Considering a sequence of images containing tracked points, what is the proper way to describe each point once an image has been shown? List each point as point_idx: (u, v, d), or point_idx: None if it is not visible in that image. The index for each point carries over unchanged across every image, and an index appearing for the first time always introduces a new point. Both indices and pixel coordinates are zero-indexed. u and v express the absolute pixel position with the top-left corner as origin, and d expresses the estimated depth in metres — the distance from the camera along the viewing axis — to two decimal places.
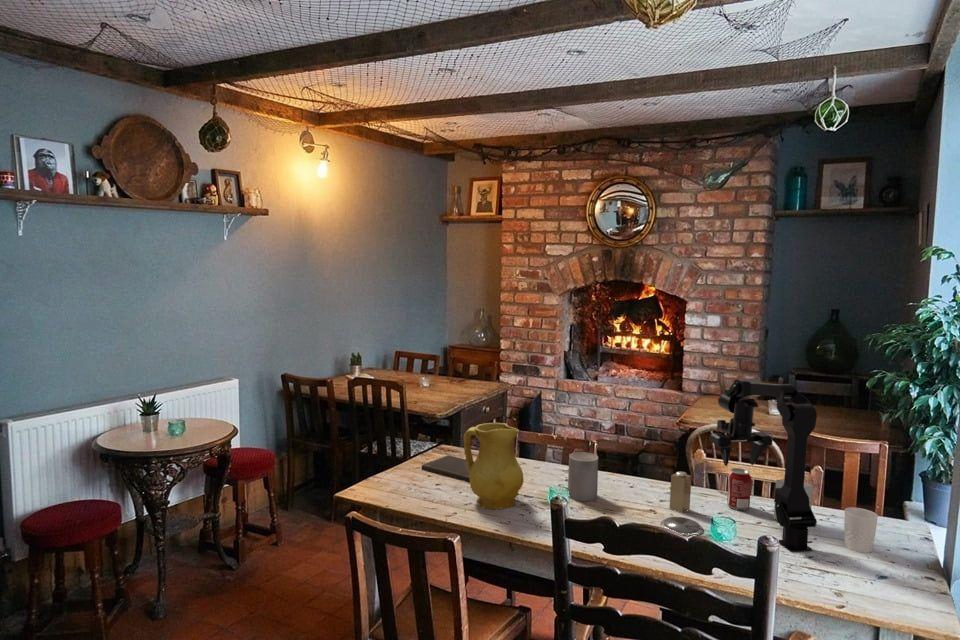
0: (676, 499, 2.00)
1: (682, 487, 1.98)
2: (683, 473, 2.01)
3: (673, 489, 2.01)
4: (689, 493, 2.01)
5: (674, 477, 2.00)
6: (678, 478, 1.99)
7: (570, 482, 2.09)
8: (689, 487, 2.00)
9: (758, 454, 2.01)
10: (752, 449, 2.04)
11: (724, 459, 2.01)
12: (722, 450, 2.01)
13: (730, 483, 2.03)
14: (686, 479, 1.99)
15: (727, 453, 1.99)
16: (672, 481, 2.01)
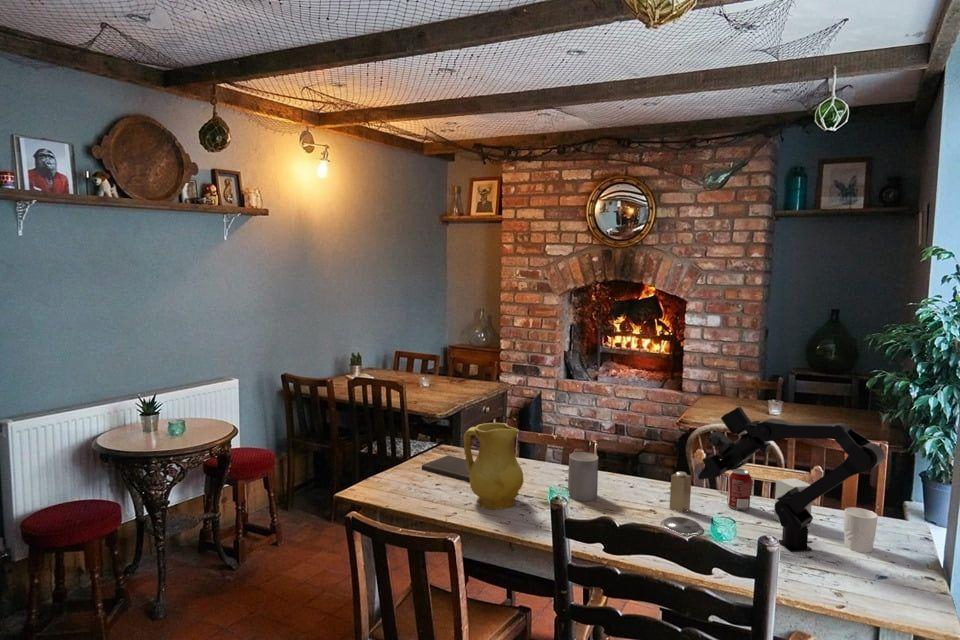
0: (676, 499, 2.00)
1: (682, 487, 1.98)
2: (683, 473, 2.00)
3: (673, 489, 2.01)
4: (689, 493, 2.01)
5: (674, 477, 2.00)
6: (678, 478, 1.99)
7: (570, 482, 2.09)
8: (689, 487, 2.00)
9: (727, 470, 1.95)
10: None
11: (703, 476, 1.90)
12: (707, 469, 1.88)
13: (730, 483, 2.03)
14: (686, 479, 1.99)
15: (712, 477, 1.87)
16: (672, 481, 2.01)
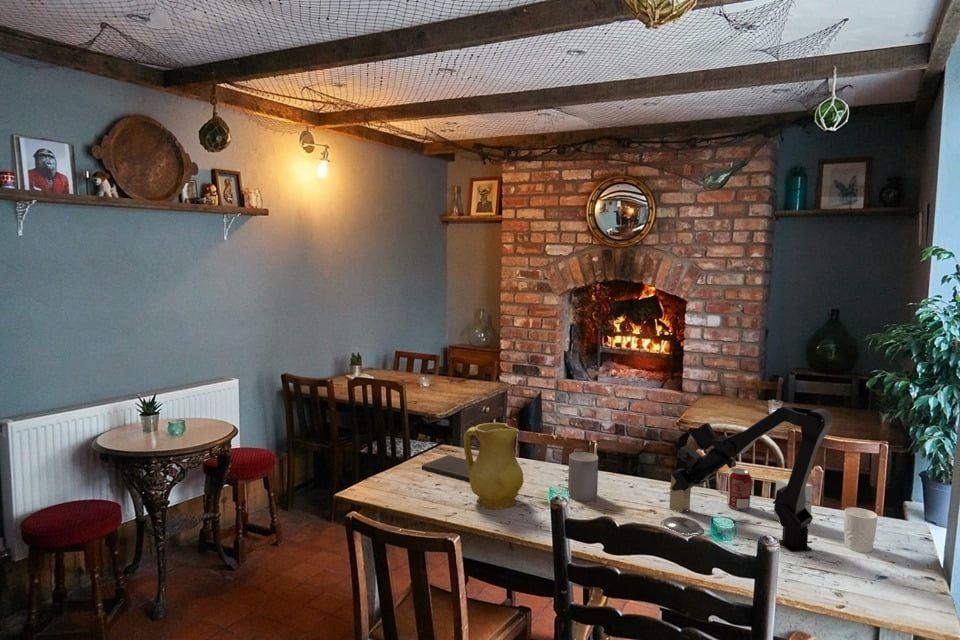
0: (676, 499, 2.00)
1: None
2: None
3: None
4: (689, 493, 2.01)
5: None
6: None
7: (570, 482, 2.09)
8: None
9: (694, 484, 2.01)
10: None
11: (676, 487, 1.99)
12: None
13: (730, 483, 2.03)
14: None
15: None
16: (672, 481, 2.01)
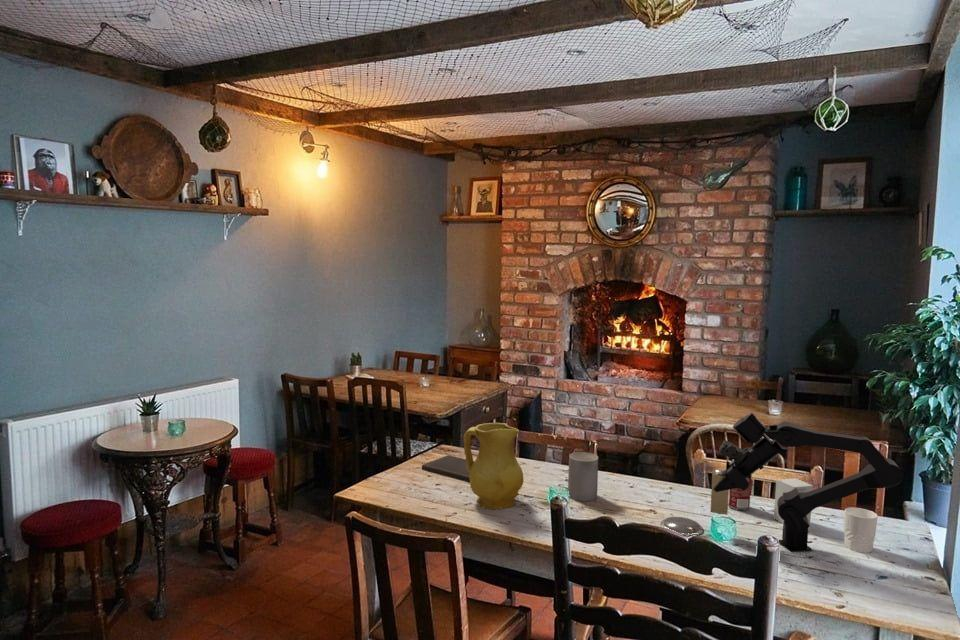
0: (719, 500, 1.81)
1: None
2: (723, 470, 1.82)
3: None
4: None
5: (716, 476, 1.81)
6: (721, 477, 1.80)
7: (570, 482, 2.09)
8: None
9: None
10: None
11: (721, 487, 1.80)
12: (726, 480, 1.78)
13: None
14: None
15: None
16: (713, 481, 1.81)
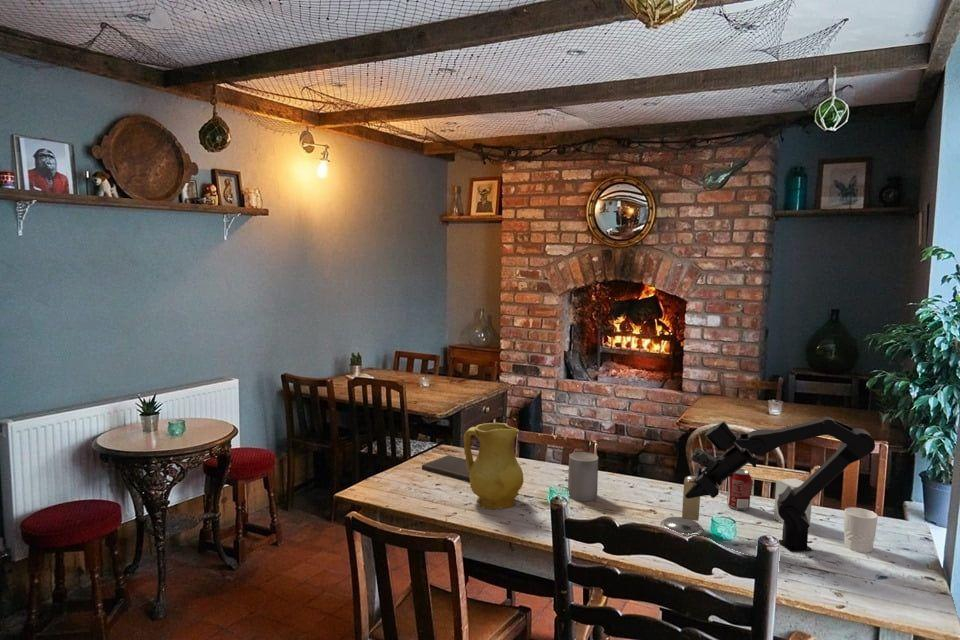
0: (690, 507, 1.84)
1: None
2: (695, 477, 1.85)
3: None
4: None
5: (688, 483, 1.84)
6: (693, 484, 1.83)
7: (570, 482, 2.09)
8: None
9: None
10: None
11: (692, 494, 1.82)
12: (698, 487, 1.81)
13: (730, 483, 2.03)
14: None
15: None
16: (685, 488, 1.84)
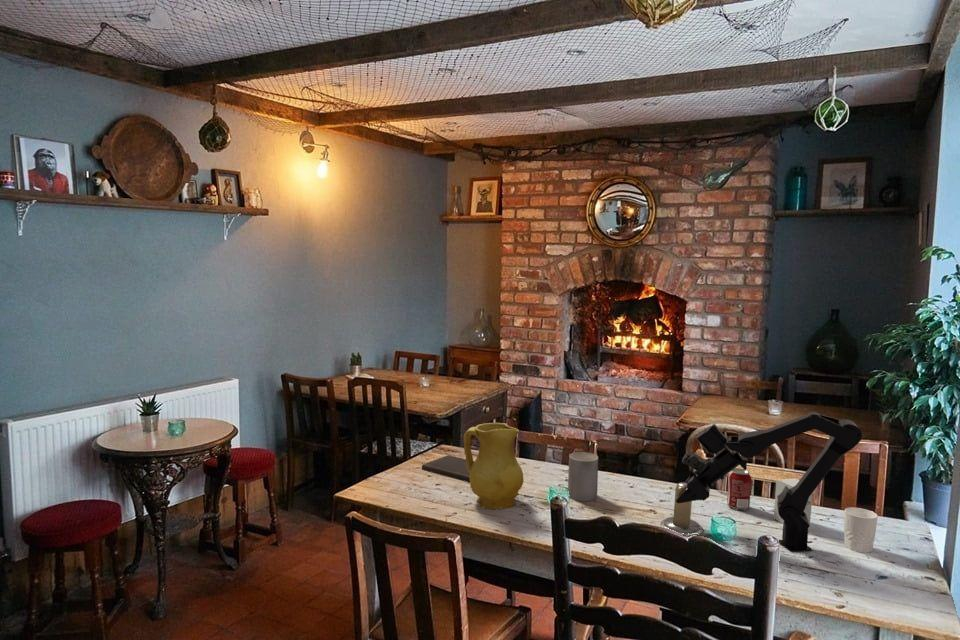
0: (681, 513, 1.85)
1: None
2: (686, 484, 1.86)
3: None
4: (691, 505, 1.88)
5: (679, 490, 1.85)
6: None
7: (570, 482, 2.09)
8: None
9: None
10: (690, 480, 1.90)
11: (683, 499, 1.82)
12: (688, 492, 1.80)
13: (730, 483, 2.03)
14: None
15: None
16: (677, 494, 1.85)
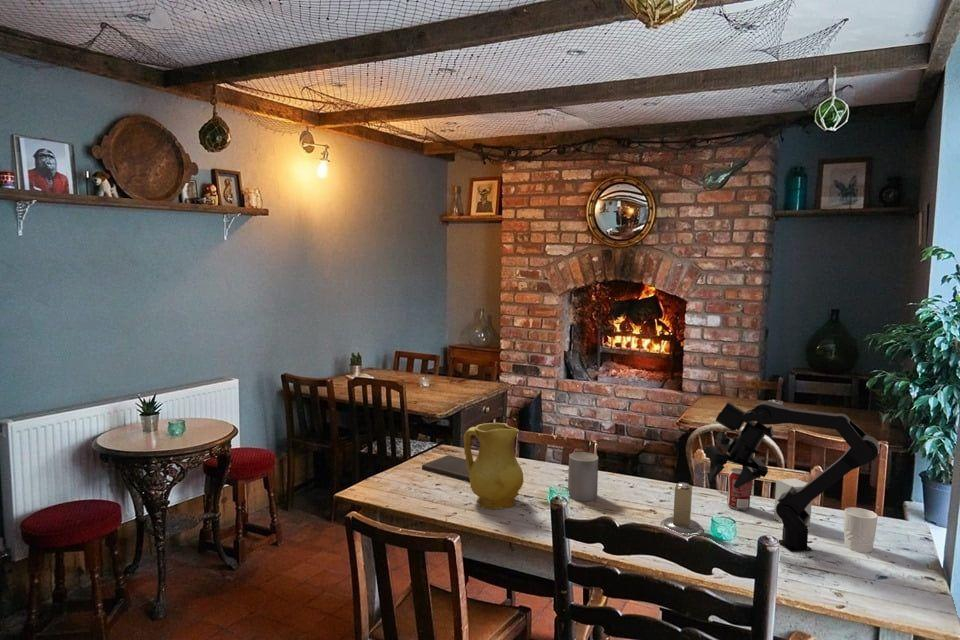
0: (681, 513, 1.85)
1: (689, 500, 1.84)
2: (685, 484, 1.86)
3: (678, 503, 1.85)
4: None
5: (678, 490, 1.85)
6: (683, 491, 1.84)
7: (570, 482, 2.09)
8: (691, 498, 1.87)
9: (747, 481, 1.85)
10: (742, 473, 1.87)
11: (711, 474, 1.84)
12: (713, 465, 1.84)
13: (730, 483, 2.03)
14: (691, 490, 1.85)
15: (717, 471, 1.81)
16: (676, 495, 1.85)
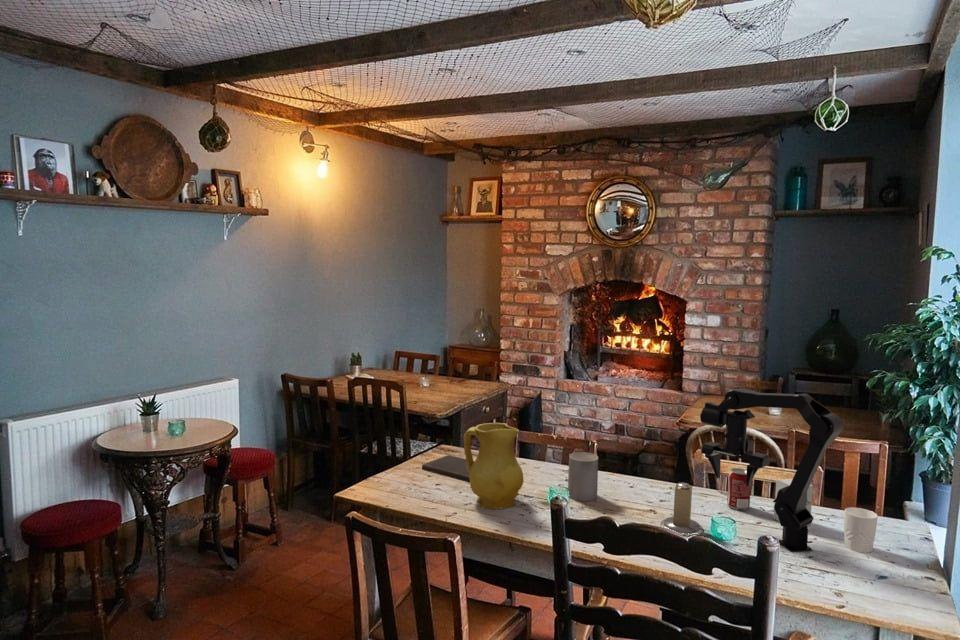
0: (681, 513, 1.85)
1: (689, 500, 1.84)
2: (686, 484, 1.86)
3: (678, 503, 1.85)
4: None
5: (678, 490, 1.85)
6: (683, 491, 1.84)
7: (570, 482, 2.09)
8: (691, 498, 1.87)
9: (747, 474, 1.84)
10: None
11: None
12: None
13: (730, 483, 2.03)
14: (691, 490, 1.85)
15: (711, 463, 1.92)
16: (676, 495, 1.85)
